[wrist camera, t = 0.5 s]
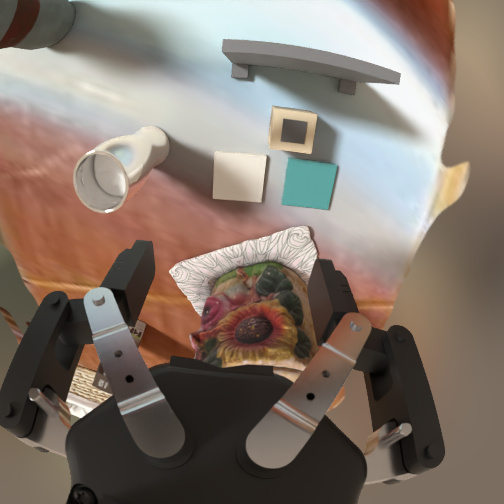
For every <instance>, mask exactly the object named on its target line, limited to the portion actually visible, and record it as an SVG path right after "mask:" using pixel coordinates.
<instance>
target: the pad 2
mask: <svg viewBox="0 0 504 504" xmlns="http://www.w3.org/2000/svg"><path fill="white" fill-rule="evenodd" d="M336 170H337V165H336V164H331V163H325V162H319V161H312V160H305V159H297V158H289V157H288V162H287V169H286V176H285V183H284V189H283V196H282V205H291V206H300V207H309V208H318V209H326V210H328V207H329V202H330V198H331V193H332V189H333V184H334V179H335V175H336Z"/></svg>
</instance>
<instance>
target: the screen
mask: <svg viewBox="0 0 504 504" xmlns="http://www.w3.org/2000/svg"><path fill="white" fill-rule="evenodd" d="M222 52H223V53H224V54H225V56H226V57H227V58H228V59H229V60H230V61H231V62H232V63H233V64H232V75H231V77H237V78H248V68H249V65H256V66H267V67H276V68H284V69H291V70H297V71H304V72H309V73H315V74H320V75H325V76H330V77H334V78H339V79H340V82H339V90H338V92H342V93H347V94H351V95H355V88H356V82H365V83H385V84H397V85H399V82H400V75H401V73H398V72H396V71H393V70H390V69H387V68H384V67H381V66H378V65H375V64H372V63H369V62H365V61H362V60H358V59H355V58H351V57H347V56H343V55H339V54H335V53H331V52H326V51H322V50H317V49H311V48H306V47H300V46H294V45H287V44H280V43H271V42H261V41H249V40H230V39H223V46H222Z"/></svg>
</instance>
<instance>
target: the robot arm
mask: <svg viewBox="0 0 504 504" xmlns="http://www.w3.org/2000/svg"><path fill="white" fill-rule="evenodd" d="M154 275H155V260H154V251H153V243H152V241H144V240H136V242H135V243H134V245H133V247H132V248H131V249H126V250H124V251H123V252H122V253H120V254H119V255H118V257H117V259H116V260H115V263H114V264H113V265H112V267H111V268H110V270H109V272H108V274H107V275H106V277H105V279H104V280H103V282H102V284H101V286H100V287H99V288H95V289H92V290H90V291H89V292H88V293H87V294H86V295H85V297H84V298H82V299H71V300H69V299H68V297H67V295H66V293H64V292H62V291H54V292H52V293H50V294H48V295H47V296H46V297H45V298H44V299H43V301H42V303H41V304H40V306H39V308H38V310H37V311H36V313H35V315H34V317H33V319H32V321H31V323H30V325H29V326H28V328H27V330H26V332H25V334H24V336H23V338H22V340H21V343H20V345H19V347H18V349H17V351H16V353H15V356H14V358H13V360H12V362H11V365H10V367H9V370H8V372H7V374H6V377H5V379H4V382H3V385H2V388H1V390H0V425H1V426H2V427H3V428H5V429H6V430H7V431H9V432H10V433H11V434H12V435H13V436H15V437H17V438H18V439H19V440H21V441H23V442H24V443H26V444H27V445H29V446H31V447H34V448H35V449H37V450H39V451H41V452H49V451H51V452H54V453H56V454H58V455H61V456H64V457H66V458H67V460H68V463H69V468H70V474H71V490H70V494H69V496H68V499H67V502H66V504H357V503H358V499H359V495H360V493H361V490H362V488H363V486H364V485H367V484H372V483H377V482H383V483H385V484H395V483H397V482H400V481H403V480H406V479H408V478H411V477H414V476H416V475H418V474H421V473H423V472H426V471H428V470H430V469H432V468H435V467H437V466H438V465H439V464H440V463H441V462H442V460H443V458H444V455H445V447H444V442H443V437H442V432H441V428H440V424H439V419H438V415H437V411H436V408H435V404H434V400H433V397H432V393H431V390H430V386H429V383H428V380H427V376H426V373H425V370H424V367H423V364H422V361H421V358H420V355H419V352H418V349H417V347H416V344H415V341H414V338H413V336H412V334H411V333H410V331H409V330H407V329H406V328H405V327H403V326H399V325H393V326H391V327H390V328H389V329H388V331H384V330H380V329H377V328H374V327H371V323H370V322H369V320H368V319H367V318H366V317H365V316H363V315H361V314H359V311H358V308H357V306H356V303H355V300H354V297H353V294H352V293H351V289H350V287H349V284H348V281H347V278H346V277H345V276H344V275H343V274H342V272H341V271H337V270H335V268H334V265H333V262H332V260H327V259H316V260H315V262H314V265H313V268H312V272H311V275H310V278H309V281H308V285H307V295H308V300H309V305H310V310H311V315H312V321H313V326H314V331H315V337H316V342H317V346H321V348H320V349H319V350H318V352H317V353H316V354H315V356H314V357H313V358H312V360H311V361H310V362H309V364H308V365H307V366H306V368H305V369H304V370H303V372H302V373H301V374H300V376H299V377H298V378H297V379H296V381H295V382H292V381H291V380H289V379H288V378H286V377H284V376H281V375H279V374H276V373H274V371H273V366H269V365H252V364H247V365H240V366H232V367H225V368H221V367H217V366H214V365H211V364H208V363H205V362H203V361H200V360H197V359H191V358H183V357H176V356H171V360H170V363H164V364H159V365H156V366H153V367H151V368H149V369H148V368H147V366H146V364H145V362H144V360H143V358H142V356H141V354H140V352H139V350H138V348H137V346H136V344H135V341H134V339H133V337H132V335H131V333H130V331H129V328H128V326H130V327H135V325H136V322H137V320H138V317H139V314H140V312H141V309H142V306H143V304H144V301H145V299H146V296H147V294H148V291H149V289H150V286H151V284H152V281H153V279H154ZM85 344H95V347H96V350H97V353H98V356H99V359H100V362H101V365H102V367H103V370H104V373H105V375H106V378H107V380H108V383H109V385H110V388H111V390H112V393H113V395H112V396H111V397H109V398H108V399H107V400H105V401H104V402H102V403H101V404H100V405H98V406H97V407H96V408H94V409H93V410H92V411H90V412H89V413H87V414H86V415H85V416H83V417H82V418H80V419H79V420H78V421H77V422H75V423H74V424H73V425H72V426H71V425H70V418H71V413H70V410H69V408H68V406H67V405H66V400H67V396H68V393H69V390H70V386H71V383H72V380H73V377H74V374H75V371H76V368H77V365H78V362H79V359H80V356H81V353H82V350H83V348H84V345H85ZM352 369H355V370H359V371H363V372H364V378H365V383H366V389H367V395H368V400H369V407H370V413H371V419H372V426H373V433H372V434H371V435H370V436H369V437H368V439H367V441H366V450H365V453H364V454H363V453H362V451H361V450H360V449H359V448H358V447H357V446H356V445H355V444H354V443H353V442H352V441H351V440H350V439H349V438H348V437H347V436H346V435H345V434H344V433H343V432H342V431H341V430H340V429H339V428H338V427H337V426H336V425H335V424H334V423H333V422H332V421H331V420H330V419H329V418H328V417H327V416H326V415H325V413H326V412H327V410H328V409H329V407H330V406H331V404H332V402H333V401H334V399H335V398H336V396H337V394H338V393H339V391H340V389H341V388H342V386H343V384H344V383H345V381H346V379H347V378H348V376H349V374H350V372H351V370H352Z"/></svg>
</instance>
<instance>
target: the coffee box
mask: <svg viewBox="0 0 504 504" xmlns="http://www.w3.org/2000/svg"><path fill="white" fill-rule="evenodd" d="M145 327H146V323H144V322H142V321H140V320H137V322H136V325H135V327H130V326H128V328H129V331H130V333H131V335H132V337H133V339H134V341H135V344H136V346H137V348H138V347H139V344H140V341H141V338H142V335H143V333H144V330H145ZM92 386H94V387H96V388H98V389H100V390H102V391H104V392H106V393H108V394H112V395H113V393H112V390H111V388H110V385H109V383H108V380H107V378H106V375H105V373H104V370H103V367H102V365H101V362H100V364H99V366H98V369H97V372H96V375H95V378H94V381H93V384H92Z"/></svg>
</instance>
